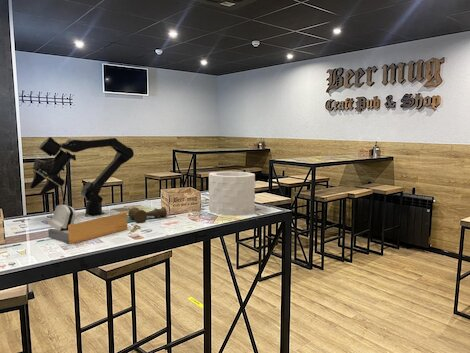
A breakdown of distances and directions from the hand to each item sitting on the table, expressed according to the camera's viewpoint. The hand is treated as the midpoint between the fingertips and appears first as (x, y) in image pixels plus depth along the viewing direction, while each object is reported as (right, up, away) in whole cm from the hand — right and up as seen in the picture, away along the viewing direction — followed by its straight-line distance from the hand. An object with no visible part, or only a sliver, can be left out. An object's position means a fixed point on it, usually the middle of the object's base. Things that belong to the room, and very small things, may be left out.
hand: (35, 191), depth 158 cm
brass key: (+46, -16, -9) cm, 49 cm away
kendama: (+46, -14, +8) cm, 49 cm away
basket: (+85, -11, +29) cm, 91 cm away
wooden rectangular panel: (+29, -16, -13) cm, 35 cm away
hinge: (+13, -15, -3) cm, 20 cm away
